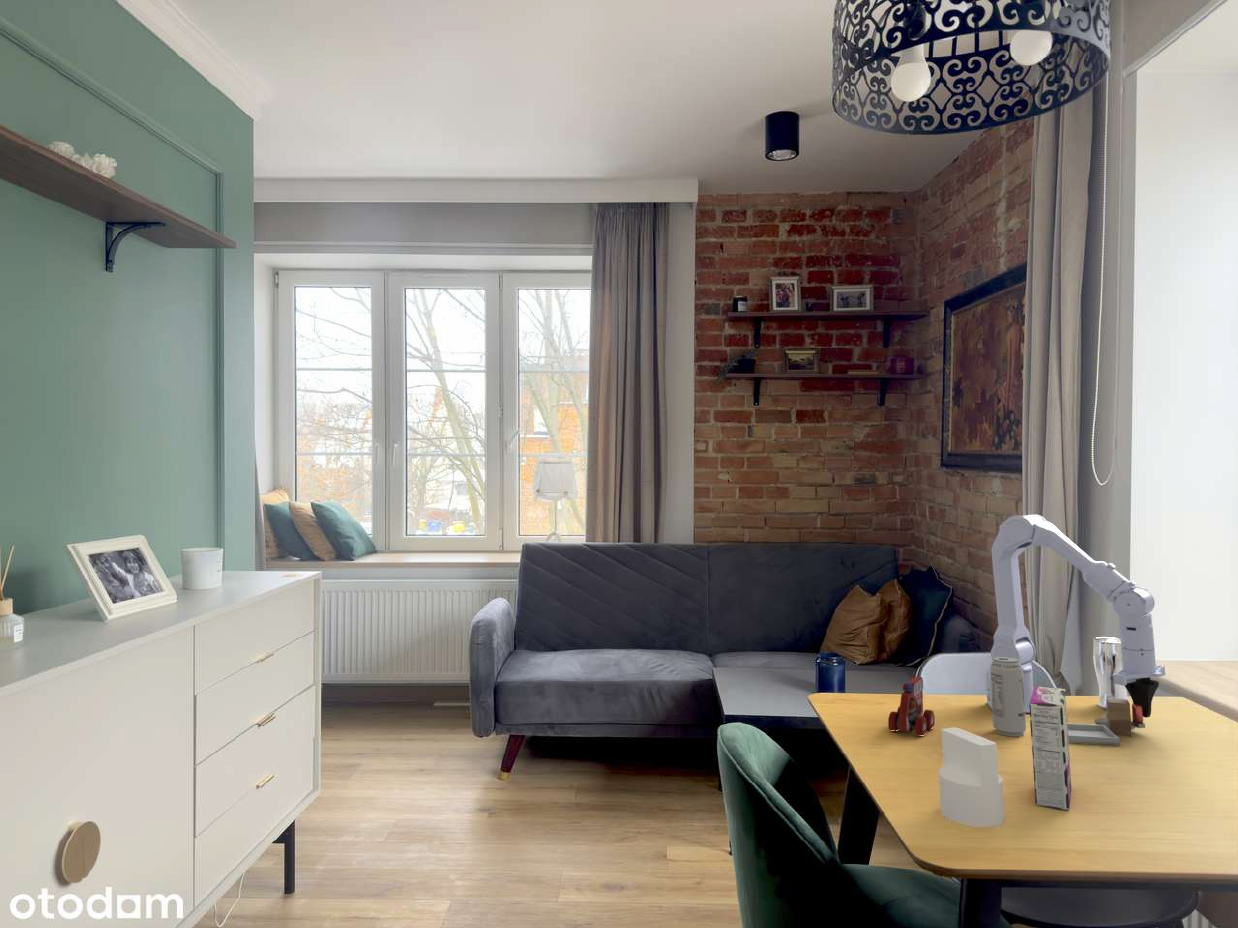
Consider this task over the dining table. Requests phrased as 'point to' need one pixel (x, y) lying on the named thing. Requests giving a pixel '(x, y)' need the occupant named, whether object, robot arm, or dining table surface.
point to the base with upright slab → (970, 780)
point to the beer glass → (1108, 668)
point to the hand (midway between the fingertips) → (1142, 716)
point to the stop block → (1119, 716)
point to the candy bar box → (1050, 747)
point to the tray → (1091, 734)
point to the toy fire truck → (912, 710)
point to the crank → (1136, 716)
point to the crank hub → (1104, 722)
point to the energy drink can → (1008, 696)
